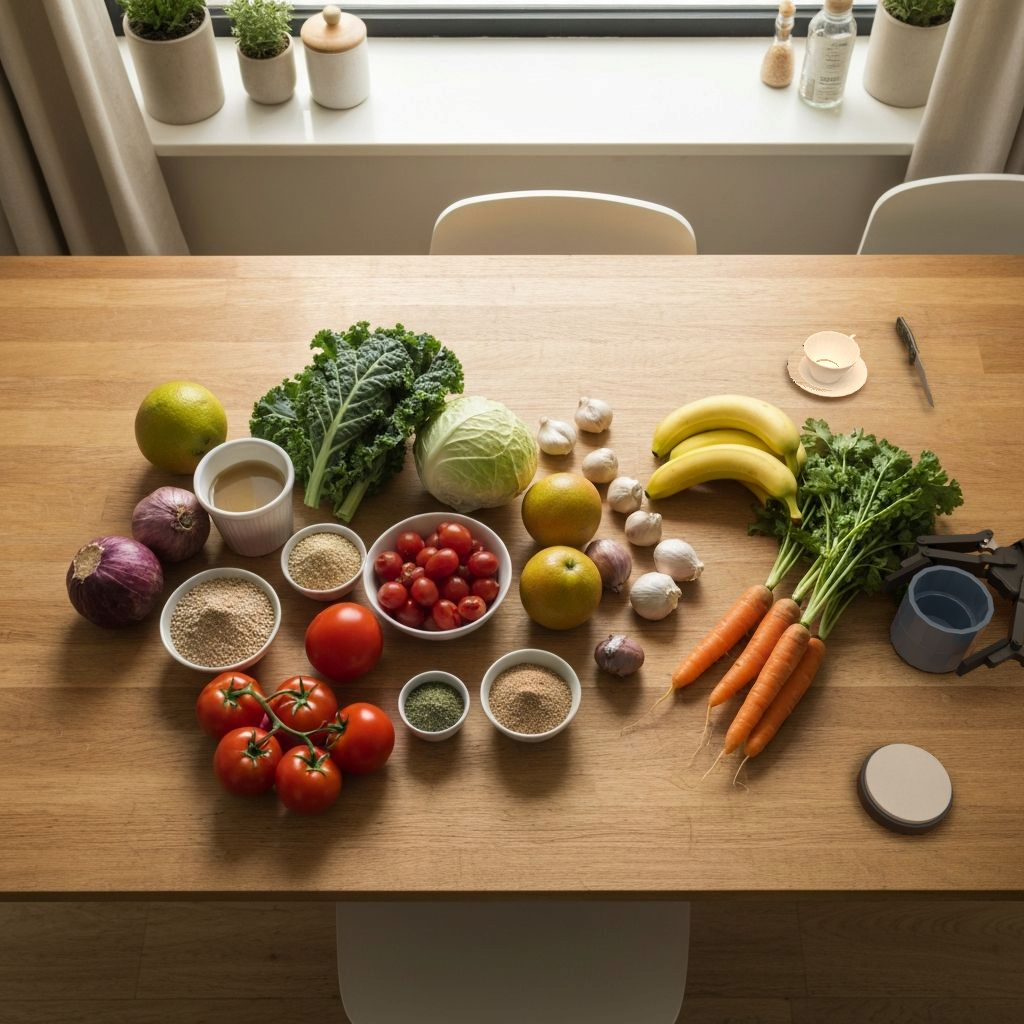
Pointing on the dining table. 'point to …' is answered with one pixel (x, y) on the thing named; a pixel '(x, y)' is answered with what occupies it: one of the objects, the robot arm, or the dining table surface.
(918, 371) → the knife
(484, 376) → the dining table surface
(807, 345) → the teacup
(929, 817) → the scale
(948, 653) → the cup
